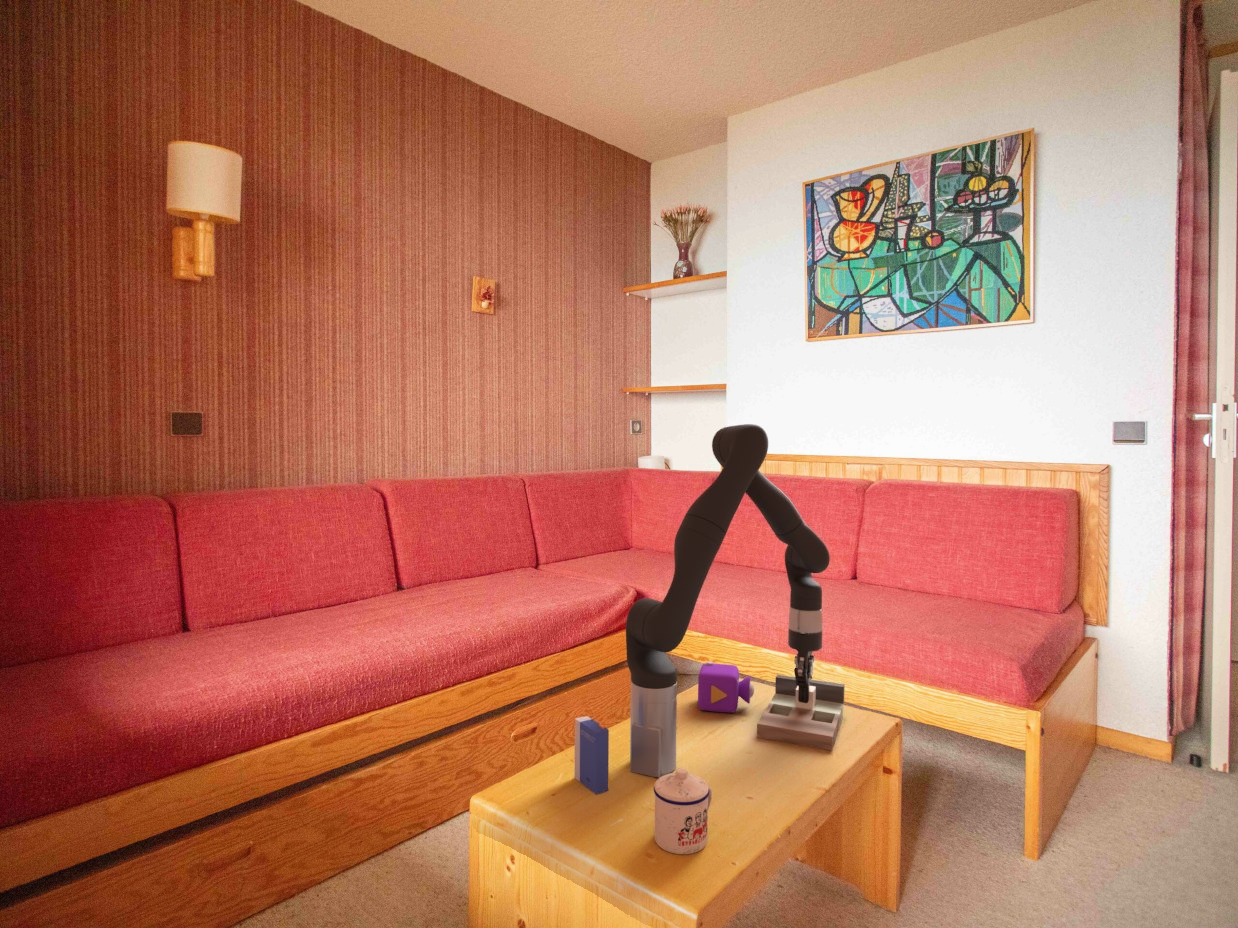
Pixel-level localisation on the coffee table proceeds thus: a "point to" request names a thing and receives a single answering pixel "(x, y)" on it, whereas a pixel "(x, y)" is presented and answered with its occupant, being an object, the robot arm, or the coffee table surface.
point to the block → (811, 698)
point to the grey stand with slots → (803, 715)
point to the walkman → (591, 754)
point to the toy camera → (722, 688)
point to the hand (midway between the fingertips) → (803, 701)
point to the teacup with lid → (681, 812)
